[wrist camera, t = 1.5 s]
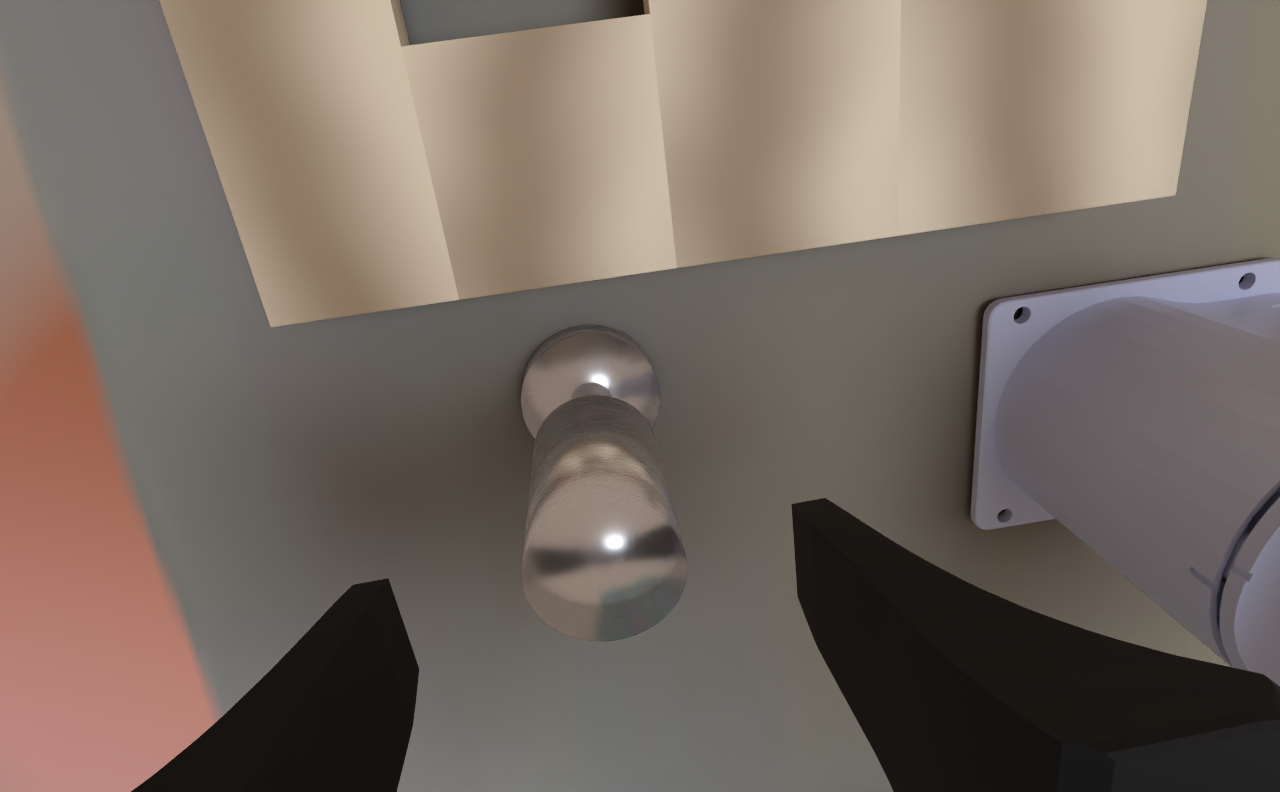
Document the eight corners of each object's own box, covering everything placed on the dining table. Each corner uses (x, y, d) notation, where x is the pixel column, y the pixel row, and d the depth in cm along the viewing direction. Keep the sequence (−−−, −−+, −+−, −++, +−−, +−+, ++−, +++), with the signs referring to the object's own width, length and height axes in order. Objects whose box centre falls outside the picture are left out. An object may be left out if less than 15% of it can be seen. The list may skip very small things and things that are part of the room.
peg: (647, 315, 21) (704, 460, 12) (663, 438, 22) (722, 643, 14) (510, 336, 20) (471, 497, 12) (536, 458, 22) (516, 677, 14)
